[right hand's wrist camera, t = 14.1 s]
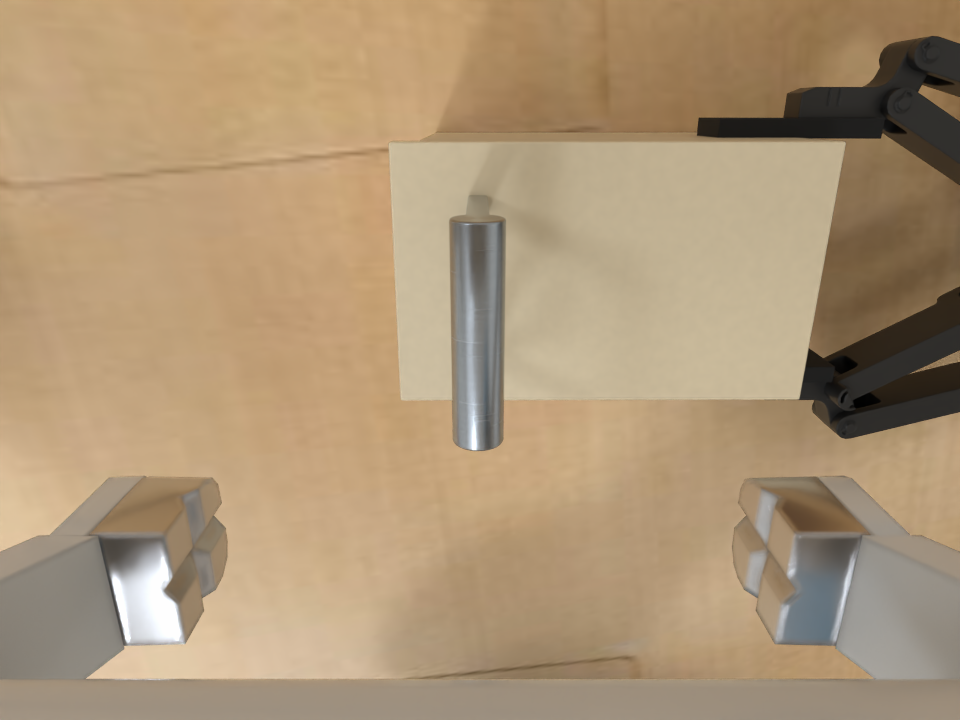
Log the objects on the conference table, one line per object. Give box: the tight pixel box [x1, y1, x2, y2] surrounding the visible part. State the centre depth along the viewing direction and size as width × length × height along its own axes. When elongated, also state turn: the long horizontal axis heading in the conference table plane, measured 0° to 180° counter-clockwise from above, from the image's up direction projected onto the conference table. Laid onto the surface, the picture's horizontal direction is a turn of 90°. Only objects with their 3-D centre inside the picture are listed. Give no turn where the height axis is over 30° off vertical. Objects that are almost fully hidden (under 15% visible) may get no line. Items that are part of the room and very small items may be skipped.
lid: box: [388, 140, 846, 451], centre depth 22 cm, size 16×10×8 cm, turn 90°
